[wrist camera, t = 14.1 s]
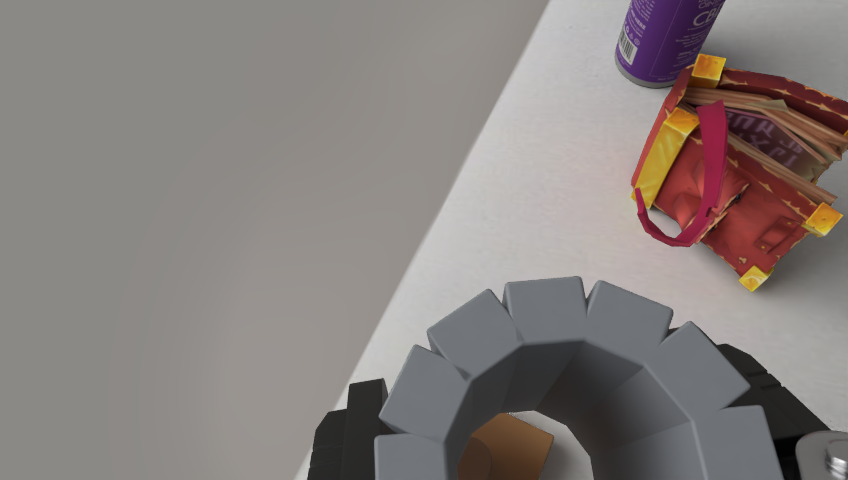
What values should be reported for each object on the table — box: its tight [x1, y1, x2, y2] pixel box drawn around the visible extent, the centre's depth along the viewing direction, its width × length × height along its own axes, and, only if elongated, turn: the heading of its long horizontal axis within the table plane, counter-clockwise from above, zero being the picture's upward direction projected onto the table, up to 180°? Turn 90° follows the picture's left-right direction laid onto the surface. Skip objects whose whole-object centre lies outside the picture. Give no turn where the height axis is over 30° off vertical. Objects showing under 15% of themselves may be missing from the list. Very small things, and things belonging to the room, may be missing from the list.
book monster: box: [630, 53, 848, 292], centre depth 28 cm, size 11×9×12 cm
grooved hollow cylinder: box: [374, 276, 784, 480], centre depth 12 cm, size 6×6×8 cm
